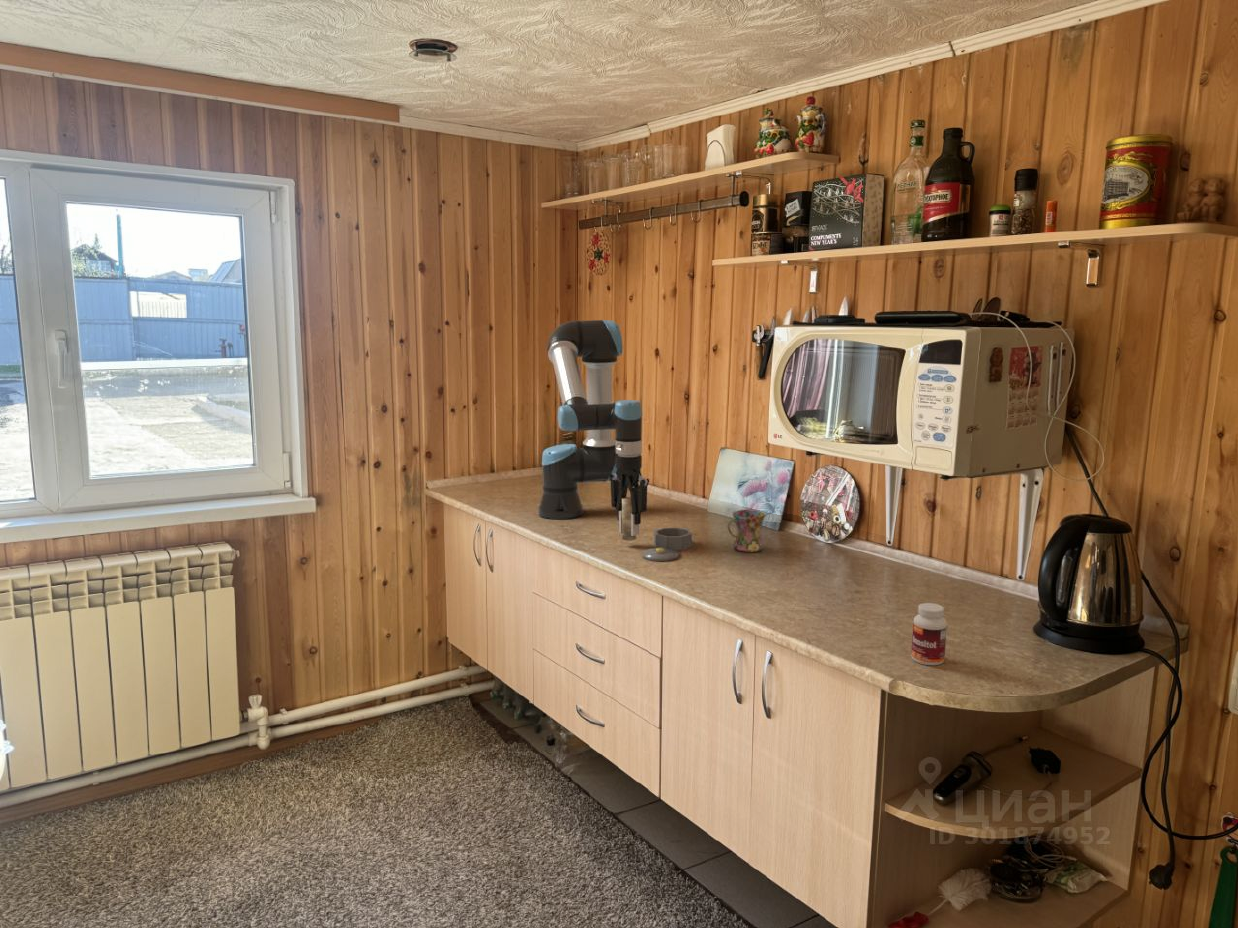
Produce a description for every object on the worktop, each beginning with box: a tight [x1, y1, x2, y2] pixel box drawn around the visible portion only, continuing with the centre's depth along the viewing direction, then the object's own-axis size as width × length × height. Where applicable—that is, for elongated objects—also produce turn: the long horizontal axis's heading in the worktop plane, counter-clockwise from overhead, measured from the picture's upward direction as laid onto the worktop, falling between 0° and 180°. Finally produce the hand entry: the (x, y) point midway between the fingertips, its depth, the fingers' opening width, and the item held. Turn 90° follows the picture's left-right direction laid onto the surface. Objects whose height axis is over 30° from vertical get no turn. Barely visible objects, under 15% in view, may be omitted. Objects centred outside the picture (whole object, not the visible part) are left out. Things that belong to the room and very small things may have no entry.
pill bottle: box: [910, 602, 948, 666], centre depth 168 cm, size 6×6×11 cm
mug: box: [726, 509, 766, 553], centre depth 245 cm, size 12×9×11 cm
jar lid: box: [641, 547, 679, 562], centre depth 241 cm, size 10×10×2 cm
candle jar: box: [653, 526, 693, 551], centre depth 251 cm, size 11×11×4 cm
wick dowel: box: [621, 496, 637, 542], centre depth 250 cm, size 4×4×12 cm
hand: (628, 533), depth 251 cm, fingers closed on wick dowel, 4 cm apart
